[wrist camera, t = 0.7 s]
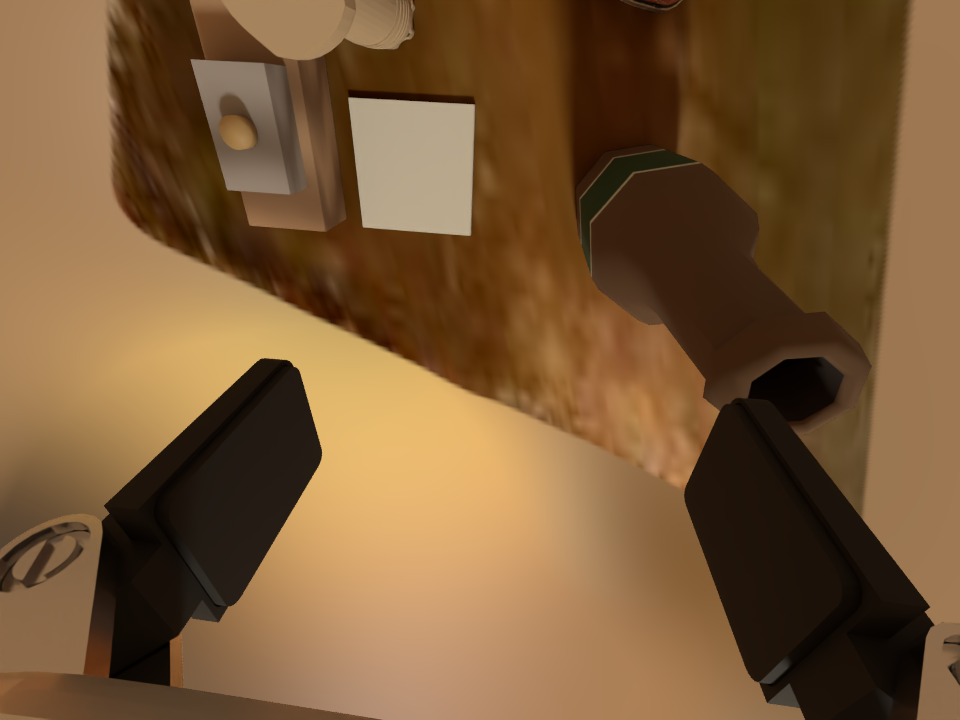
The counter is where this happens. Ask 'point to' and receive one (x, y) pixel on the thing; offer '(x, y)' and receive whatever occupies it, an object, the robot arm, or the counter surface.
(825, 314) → the brown glass bottle
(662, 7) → the lighter
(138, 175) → the counter surface
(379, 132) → the felt pad
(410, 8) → the handle
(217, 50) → the body
